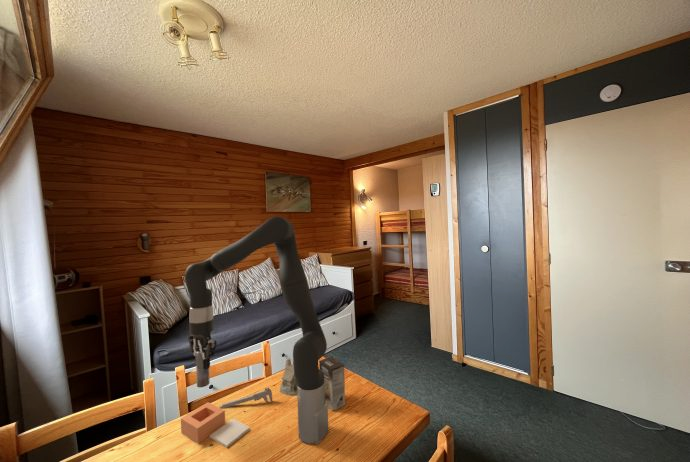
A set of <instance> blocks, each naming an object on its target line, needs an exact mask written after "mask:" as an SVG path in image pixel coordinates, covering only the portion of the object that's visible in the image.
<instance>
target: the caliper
mask: <svg viewBox="0 0 690 462" xmlns="http://www.w3.org/2000/svg"><path fill="white" fill-rule="evenodd" d="M271 389H272V388H270V387H269V386H267V388H266V387H264V390H261V391H257V392H254V393H253V394H251V395H248V396H244V397H242V398H238V399H234V400H230V401H228V402H224V403H222V404H221V405H220V406H218V407H219V408H221V409H227V408H230V407H233V406H236V405H240V404H243V403H246V402H250V401H254V402H256V401H260V400H261V399H263V401H264V402H265V403H266V404H268V402H269V401H270V403H272V402H273V393H272V390H271ZM268 398H269V401H268Z"/></svg>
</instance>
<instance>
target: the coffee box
mask: <svg viewBox="0 0 690 462" xmlns="http://www.w3.org/2000/svg"><path fill="white" fill-rule="evenodd" d="M318 366H319V369H320V370H321V371H323V373H324V385H325V404H327V405H328V409H330V410H331V411H332V412H333V411H336V410H338V409H339V408H341V407H344V406H345V405H346V395H345V394H346V391H345V389H346V388H345V385H346V384H345V383H346V381H345V364H344V363H343V362H341V361H339V360H338V359H336V358H334V357H333V356H330V357H326V358H324V359H319V360H318Z"/></svg>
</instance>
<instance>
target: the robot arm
mask: <svg viewBox="0 0 690 462" xmlns="http://www.w3.org/2000/svg"><path fill="white" fill-rule="evenodd" d="M272 244H273V245H274V247H275V250H276V253H277V257H278V266H279V267H278V268H279V270H278V271H279V272H278V273H279V275H278V276H279V284H280V289H281V293H282V296H283V300H284V302H285V303H286V305H287V307H288V308H289V310H290V311H291V312H292V313H293V314H294V316H295V317H296V318H297V320H298V322H299V325H300V328H301V332H302V337H300V338H299V339H298V340H296V342H295V343H294V345H293V348H292V349H293V350H292V365H293V364H294V375H295V378H296V380H297V395H296V396H297V397H296V398H297V421H298V422H297V423H298V425H297V427H298V439H299V440H300V441H301V442H303V443H304V444H309V445H313V444H316V445H319V444H320V443H321V442H322V441H323V439H324V438H325V437H326V436H327V434H328V433H329V413H328V412H329V407H328V405H327V404H325V385H324V373H323V371H321V370H320V368H319V361H320V360H321V358H322V357H323V356H325V353H326V352H327V349H328V348H327V346H328V343H327V338H326V335H325V333H324V330H323V329H322V326H321V323H320V321H319V318H318V315H317V311H316V308H315V305H314V301H313V298H312V294H311V291H310V286H309V284H308V277H307V275H306V273H305V269H304V266H303V263H302V261H301V258H300V255H299V251H298V245H297V241H296V233H295V228H294V226H293V224H292V223H291V221H290V220H288V219H287V218H284V217H282V216H278V215H277V216H273V217H270V218H268V219H267V220H265V221H264V222H263V223H262V224H260V225H259V226H258V227H256V228H255V229H254V230H252V231H251V232H250V233H248V234H247V235H245V236H243V237H242V238H240V239H239V240H237V241H235V242H233V243H231V244H230V245H227V246H226V247H223V248H221V249H220V250H218V251H217V252H215V253H213V254H212V255H211V257H209V258H207V259H206V260H202V261H199V262H195V263H192V264H190V265H188V267H187V268H186V270H185V273H184V281H185V282H184V283H185V285H186V289H187V292H188V294H189V315H188V316H189V317H188V318H189V319H188V320H189V322H188V323H189V324H188V325H189V326H188V327H189V334H190V335H188V337H187V338H188V343H189V349H190V353H191V354H192V353H193V356H194V357H195V358H194V360H195V361H194V362H195V364H194V365H195V367H196V351H197V350H199V349H200V352H201V353H202V357H203V369H204V370H205V369H208V368H209V369H210V367H211V358H212V357H214V356H215V353H216V347H217V340H212V336H211V333H212V332H213V331H214V328H215V327H214V308H213V292H212V290H211V288H209V287H208V286H207V281H209V280H211V279H213V278H215V277H216V276H218V275H219V274H221V273H222V272H224V271H226V270H228V269H230V268H232V267H234V266H236V265H237V264H239V263H241V262H243V261H244V260H245V259H246V258H248V257H249V256H250V255H252V254H253V253H255V252H256V251H257V250H260V249H262V248H263V247H267V246H268V245H269V246H270V245H272ZM203 348H206V349H203ZM206 351H207V352H206ZM205 352H206V355H205Z"/></svg>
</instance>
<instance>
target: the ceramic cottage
mask: <svg viewBox="0 0 690 462" xmlns="http://www.w3.org/2000/svg"><path fill="white" fill-rule="evenodd" d="M284 366H285V367H284V371H283V374H282V377H281V380H282V381H281V384H280V387H279V392H280V393H281V394H282V395H286V396H297V380H296V378H295V375H294V364H293V363H292V360H291V358H289V357H287V358H286V359H285V365H284Z"/></svg>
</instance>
